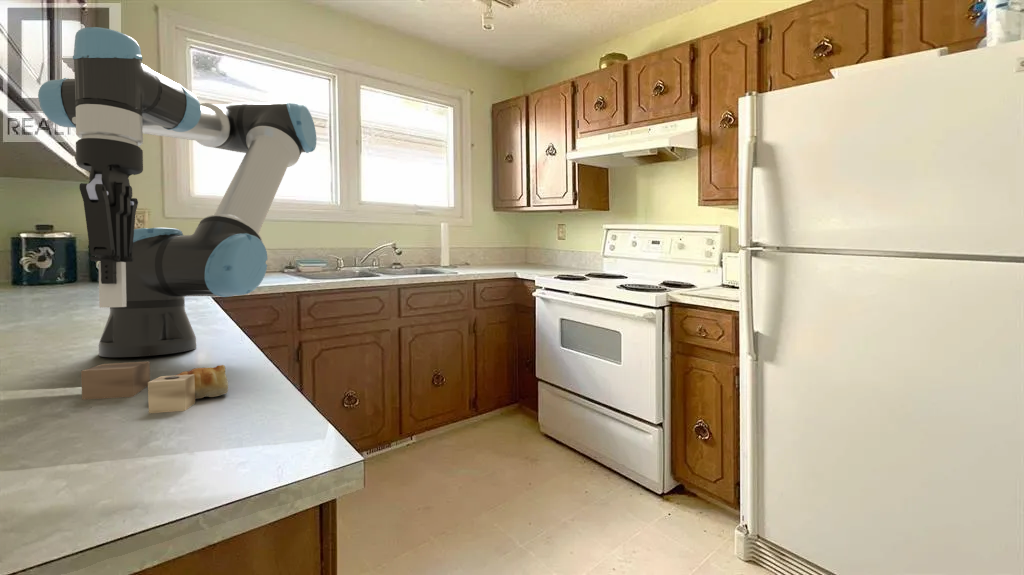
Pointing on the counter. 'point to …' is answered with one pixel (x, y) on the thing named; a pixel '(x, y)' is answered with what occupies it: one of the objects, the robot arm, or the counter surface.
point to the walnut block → (115, 380)
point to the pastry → (209, 381)
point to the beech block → (171, 393)
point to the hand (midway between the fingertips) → (113, 306)
